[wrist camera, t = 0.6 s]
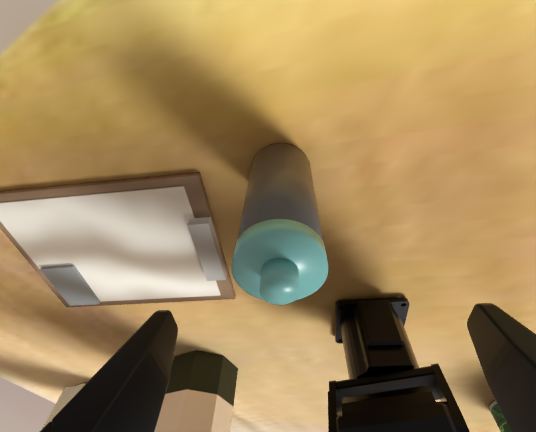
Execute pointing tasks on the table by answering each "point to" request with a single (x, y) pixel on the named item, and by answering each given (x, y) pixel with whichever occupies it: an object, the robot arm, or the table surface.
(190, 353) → the wine bottle
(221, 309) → the table surface
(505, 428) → the canned tomato
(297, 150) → the water bottle
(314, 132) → the table surface
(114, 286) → the clipboard
